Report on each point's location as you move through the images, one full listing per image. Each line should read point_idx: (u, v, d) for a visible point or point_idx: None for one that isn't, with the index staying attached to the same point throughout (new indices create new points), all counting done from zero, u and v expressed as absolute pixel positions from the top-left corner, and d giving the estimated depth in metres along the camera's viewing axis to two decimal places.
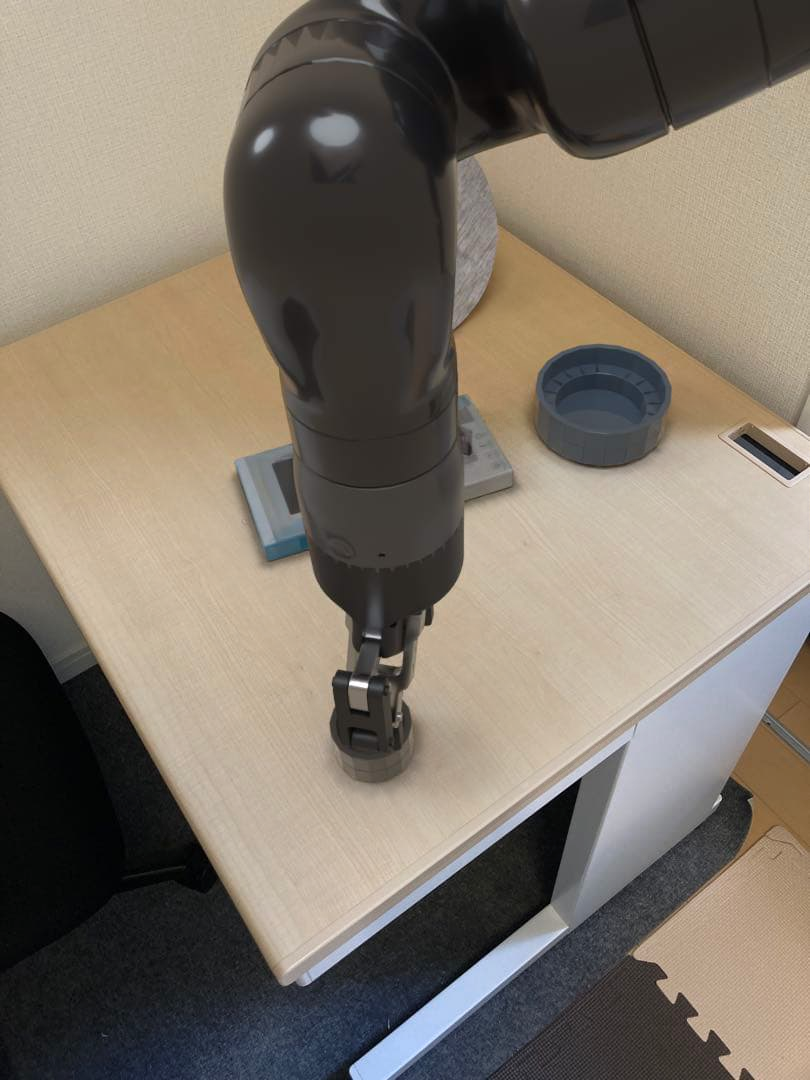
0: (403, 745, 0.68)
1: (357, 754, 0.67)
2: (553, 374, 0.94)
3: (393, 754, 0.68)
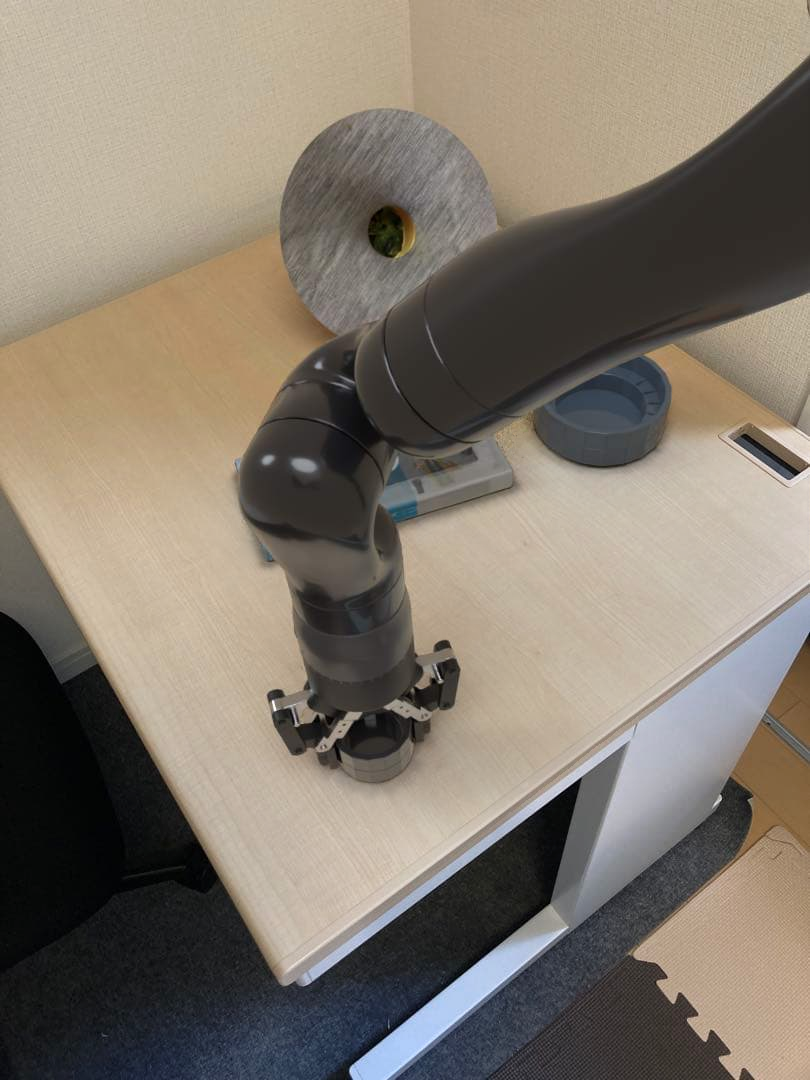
0: (403, 745, 0.68)
1: (357, 754, 0.67)
2: None
3: (393, 754, 0.68)
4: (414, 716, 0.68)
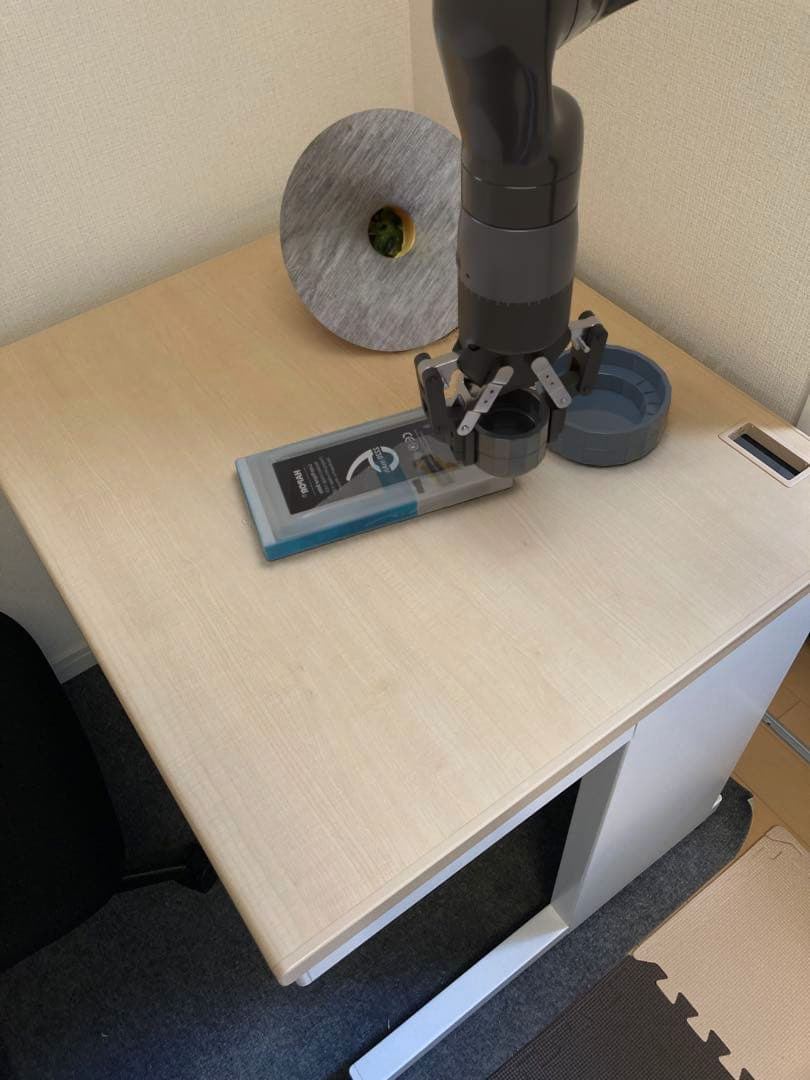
0: (543, 429, 0.67)
1: (498, 435, 0.67)
2: None
3: (534, 436, 0.67)
4: (555, 399, 0.67)
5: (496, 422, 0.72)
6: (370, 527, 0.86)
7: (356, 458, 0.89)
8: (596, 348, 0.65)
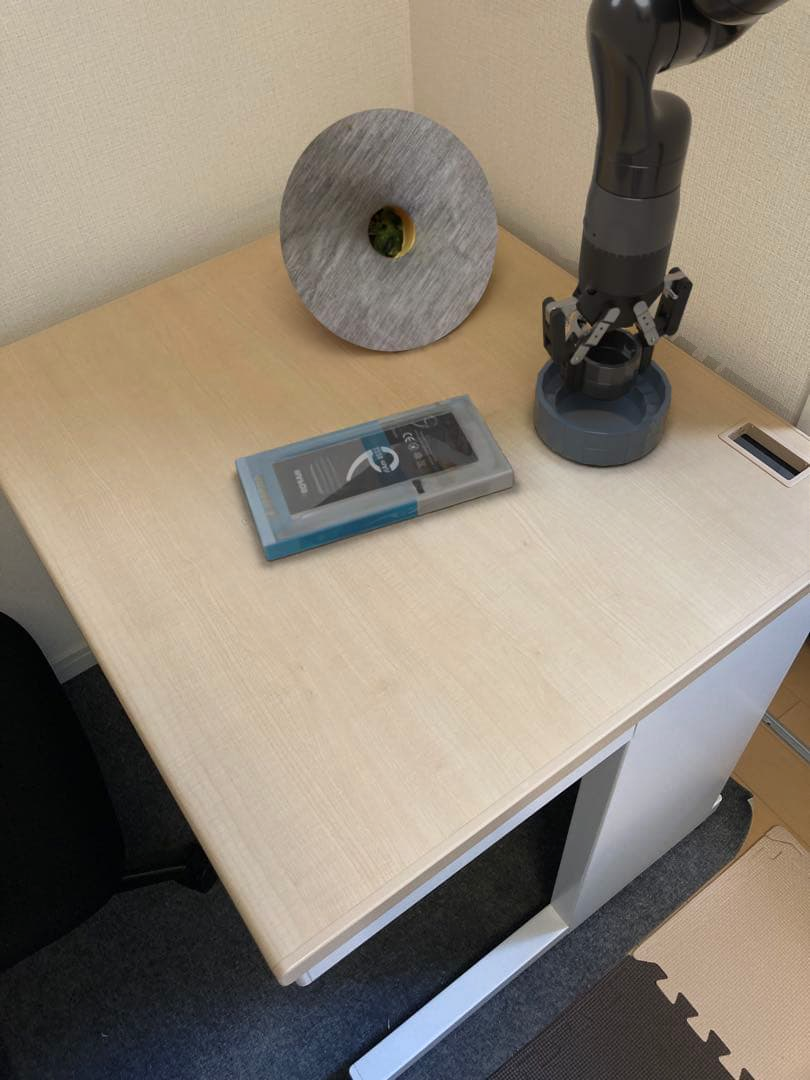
0: (637, 360, 0.85)
1: (602, 365, 0.85)
2: (553, 374, 0.94)
3: (631, 365, 0.85)
4: (647, 337, 0.85)
5: (595, 358, 0.90)
6: (370, 527, 0.86)
7: (356, 458, 0.89)
8: (682, 296, 0.83)
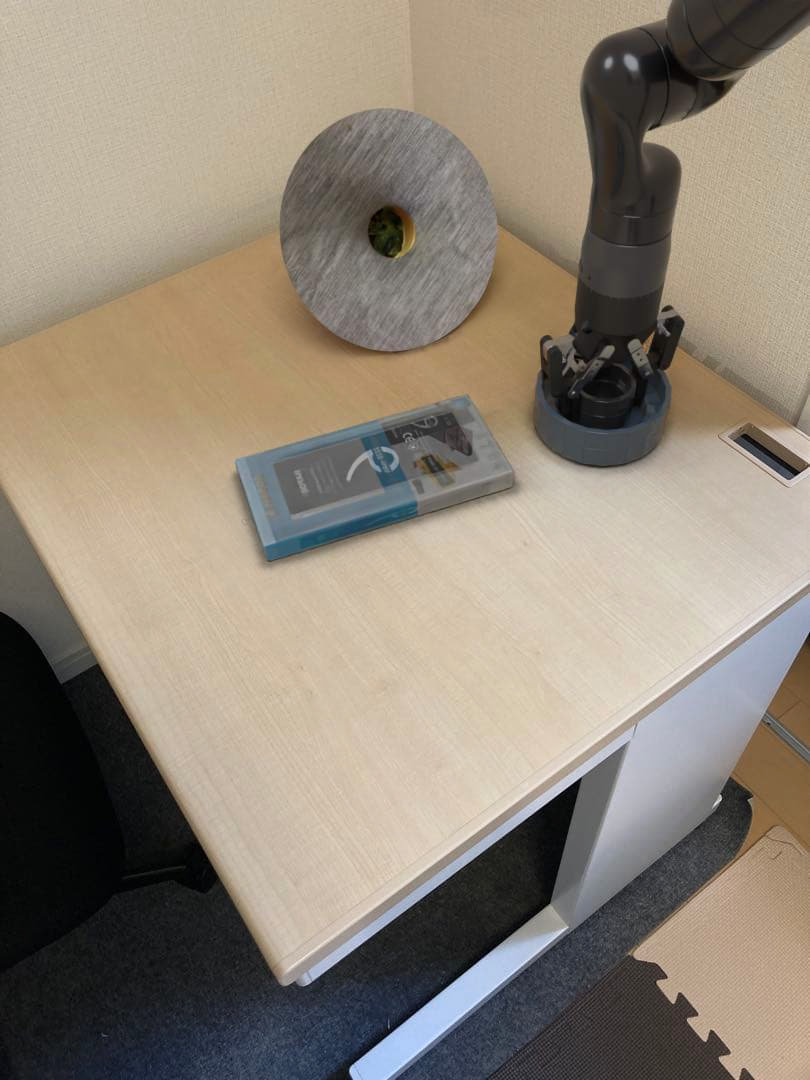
0: (632, 394, 0.89)
1: (598, 398, 0.88)
2: None
3: (626, 399, 0.88)
4: (641, 372, 0.88)
5: (592, 390, 0.94)
6: (370, 527, 0.86)
7: (356, 458, 0.89)
8: (675, 333, 0.86)
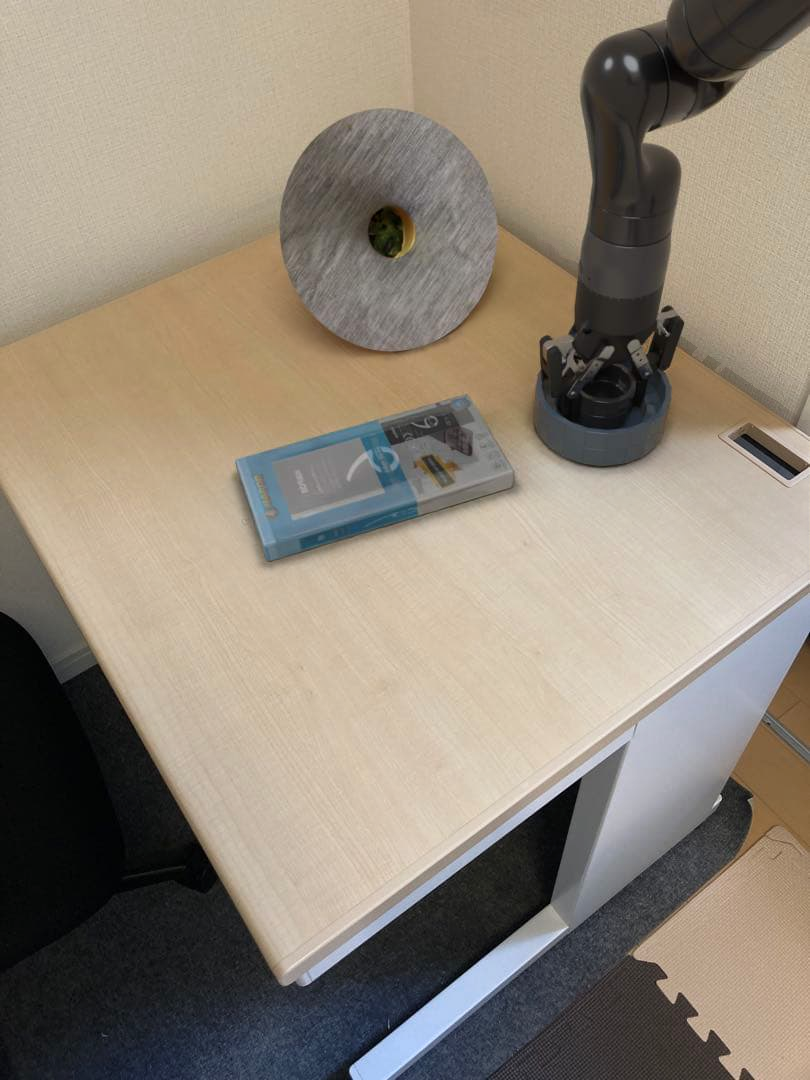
0: (632, 394, 0.89)
1: (598, 399, 0.88)
2: None
3: (625, 399, 0.88)
4: (640, 372, 0.89)
5: (591, 390, 0.94)
6: (370, 527, 0.86)
7: (356, 458, 0.89)
8: (674, 334, 0.86)
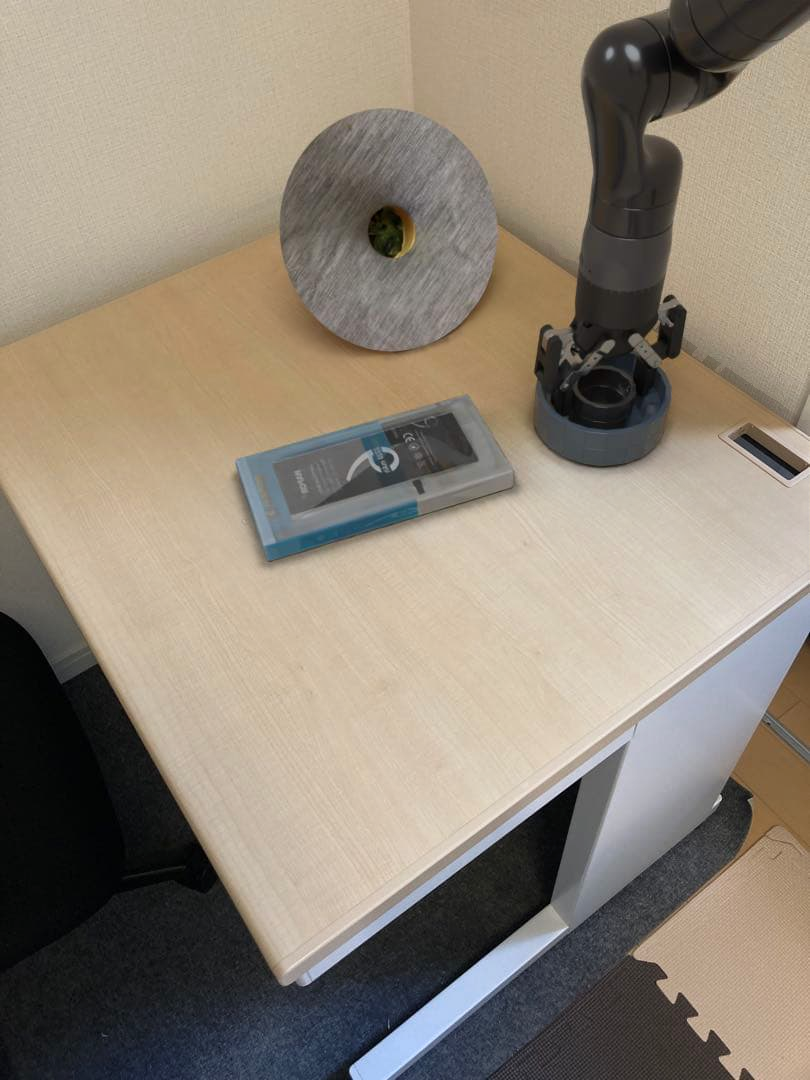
0: (631, 400, 0.89)
1: (598, 404, 0.89)
2: None
3: (625, 405, 0.89)
4: (650, 360, 0.88)
5: (591, 396, 0.94)
6: (370, 527, 0.86)
7: (356, 458, 0.89)
8: (678, 323, 0.85)
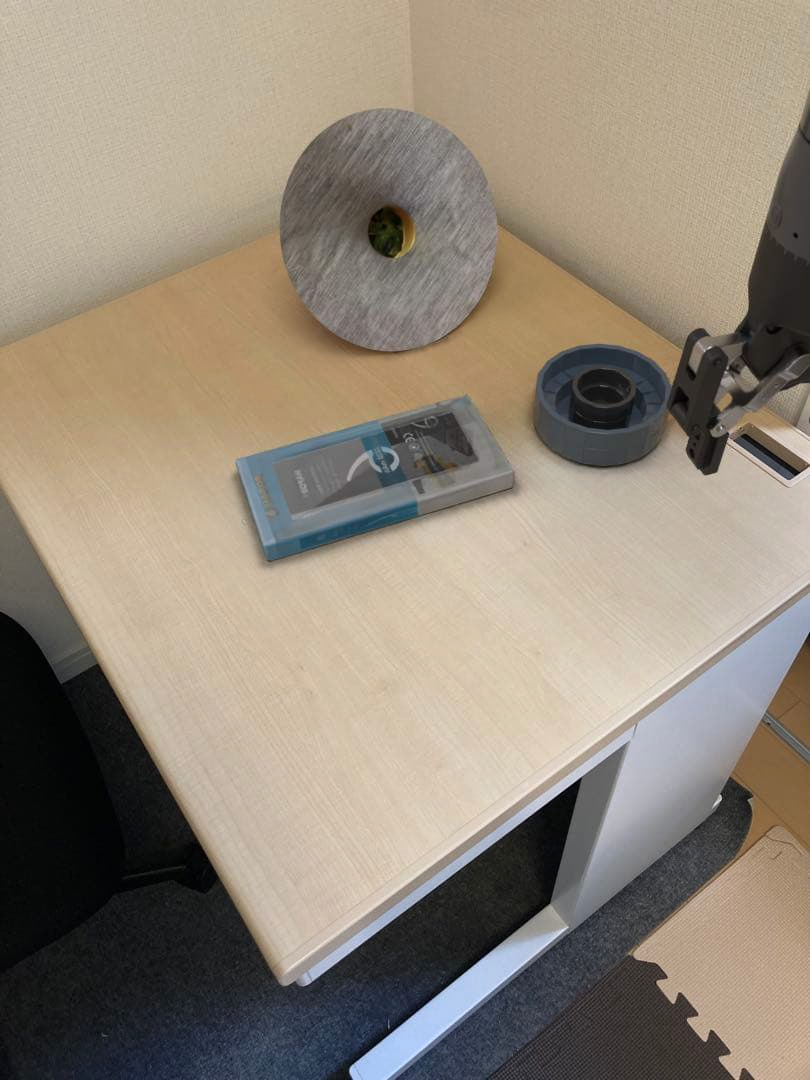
0: (631, 400, 0.89)
1: (598, 404, 0.89)
2: (553, 374, 0.94)
3: (625, 405, 0.89)
4: None
5: (591, 396, 0.94)
6: (370, 527, 0.86)
7: (356, 458, 0.89)
8: None
